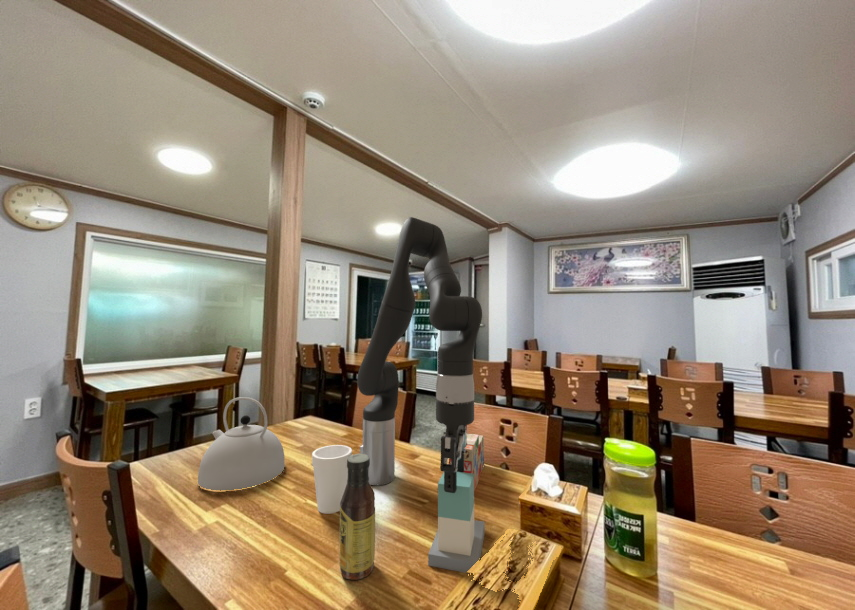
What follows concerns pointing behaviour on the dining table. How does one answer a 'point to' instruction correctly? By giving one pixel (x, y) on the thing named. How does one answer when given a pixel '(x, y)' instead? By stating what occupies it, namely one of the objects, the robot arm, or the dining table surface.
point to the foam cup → (330, 476)
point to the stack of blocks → (473, 456)
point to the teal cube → (457, 498)
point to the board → (458, 560)
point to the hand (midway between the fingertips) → (454, 481)
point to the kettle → (241, 455)
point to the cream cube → (456, 535)
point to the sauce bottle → (357, 521)
